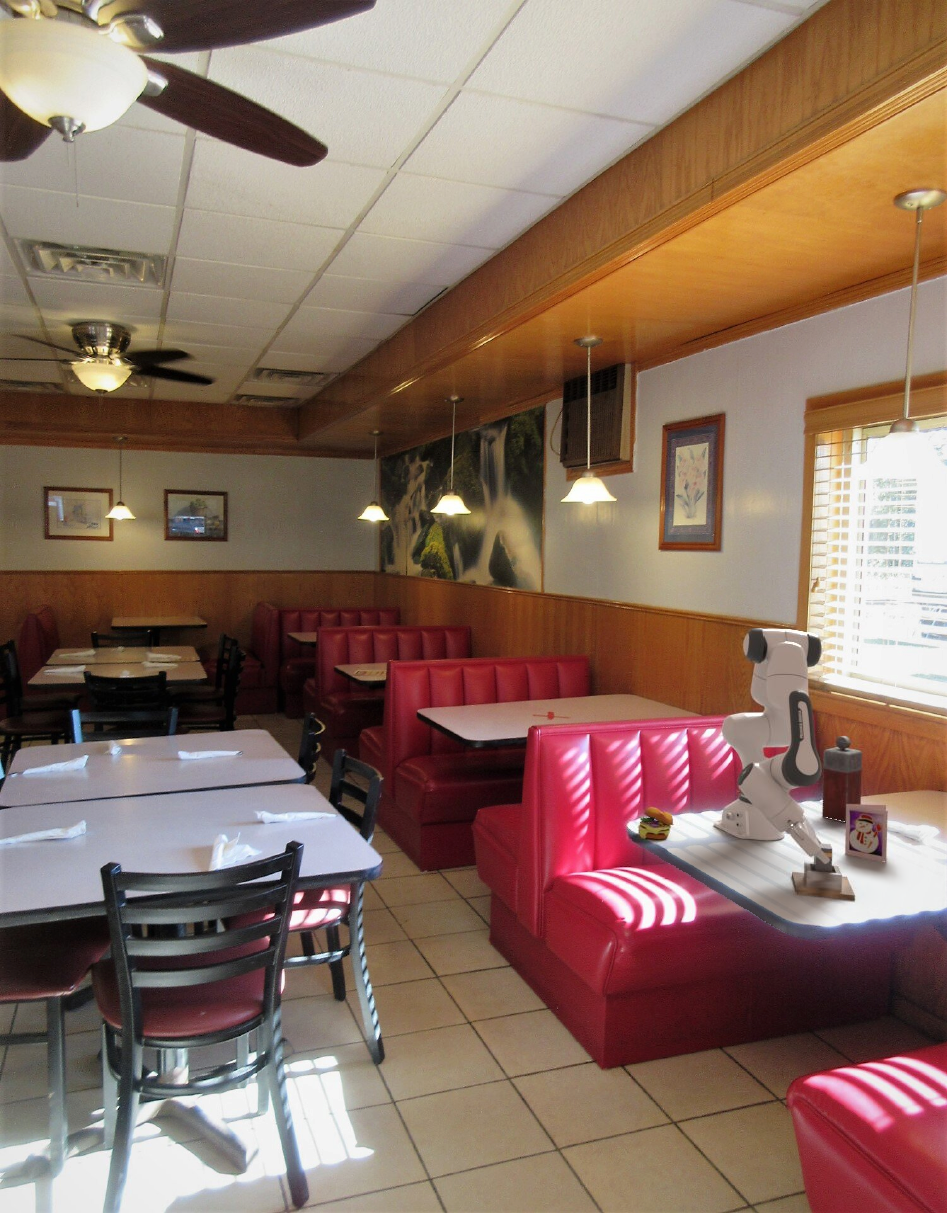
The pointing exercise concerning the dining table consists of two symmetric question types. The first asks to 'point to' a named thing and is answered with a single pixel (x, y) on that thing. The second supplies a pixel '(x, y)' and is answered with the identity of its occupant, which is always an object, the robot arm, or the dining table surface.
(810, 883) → the holder
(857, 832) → the greeting card
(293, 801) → the dining table surface
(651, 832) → the cheeseburger
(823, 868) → the block
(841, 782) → the pepper mill
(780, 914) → the dining table surface
